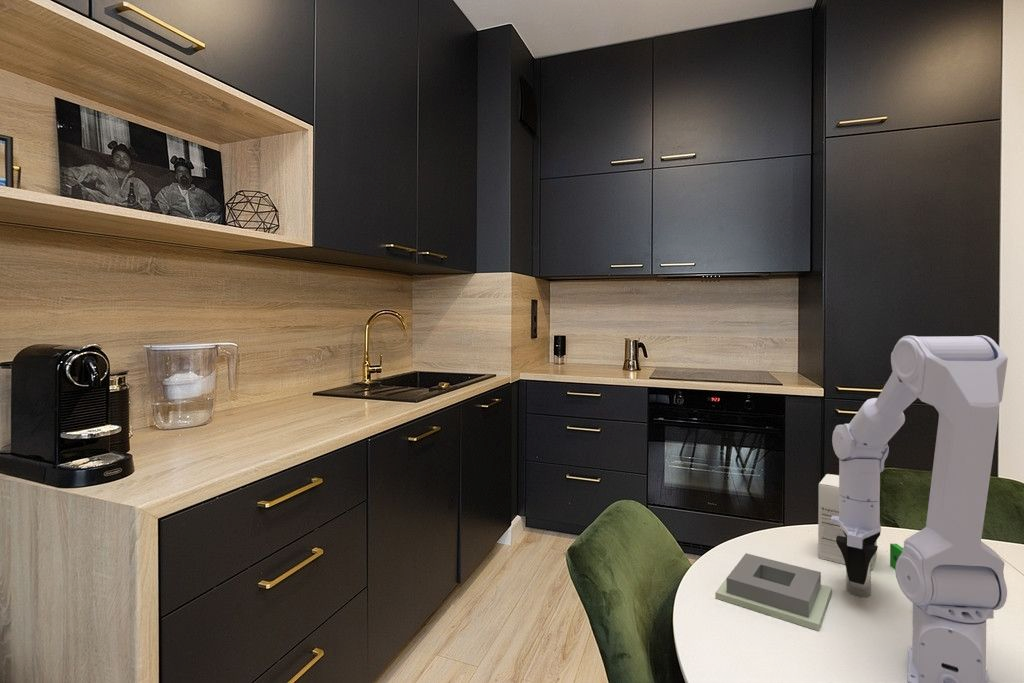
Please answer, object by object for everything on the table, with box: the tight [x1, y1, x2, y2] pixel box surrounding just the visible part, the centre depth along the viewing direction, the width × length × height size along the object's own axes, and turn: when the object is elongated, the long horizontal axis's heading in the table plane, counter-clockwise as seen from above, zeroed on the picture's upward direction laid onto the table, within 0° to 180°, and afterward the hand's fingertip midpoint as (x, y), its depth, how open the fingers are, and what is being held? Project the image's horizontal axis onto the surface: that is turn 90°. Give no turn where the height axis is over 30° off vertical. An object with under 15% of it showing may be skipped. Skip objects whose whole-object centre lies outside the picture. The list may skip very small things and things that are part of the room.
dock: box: [714, 552, 833, 632], centre depth 85 cm, size 14×15×4 cm
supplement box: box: [817, 473, 878, 572], centre depth 100 cm, size 9×9×15 cm
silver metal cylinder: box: [845, 561, 872, 599], centre depth 86 cm, size 4×4×8 cm
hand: (858, 575), depth 86 cm, fingers open, 5 cm apart
